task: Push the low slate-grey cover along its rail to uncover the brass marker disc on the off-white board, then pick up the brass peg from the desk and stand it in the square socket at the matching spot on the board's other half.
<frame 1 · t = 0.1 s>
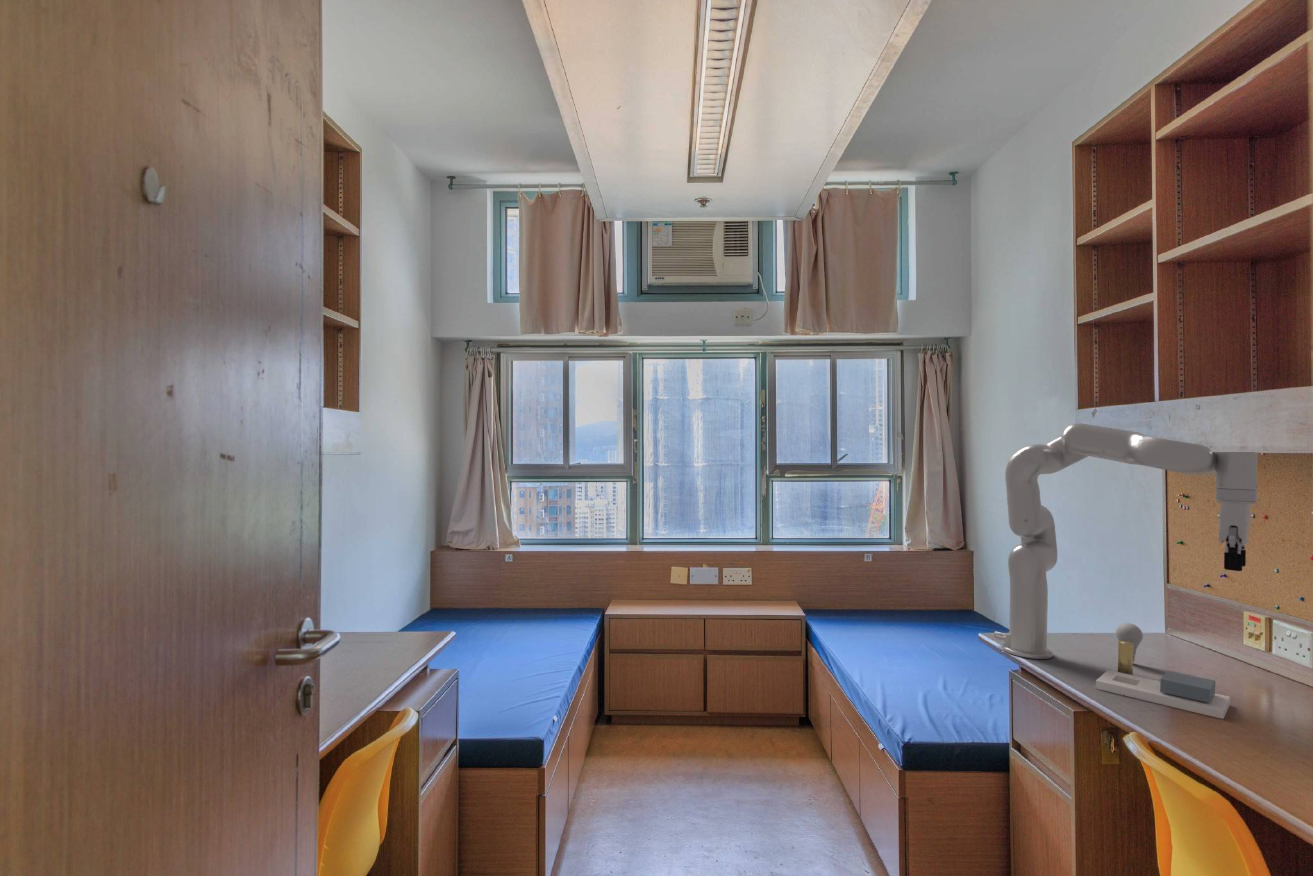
hand: (1234, 567, 161), 31 cm above the table, fingers open, 9 cm apart
housing: (1187, 686, 156), point 4 cm above the table, slide at 0.0 cm
pin: (1125, 677, 173), on the table
board: (1160, 696, 160), on the table
lightbulb: (1128, 663, 185), on the table
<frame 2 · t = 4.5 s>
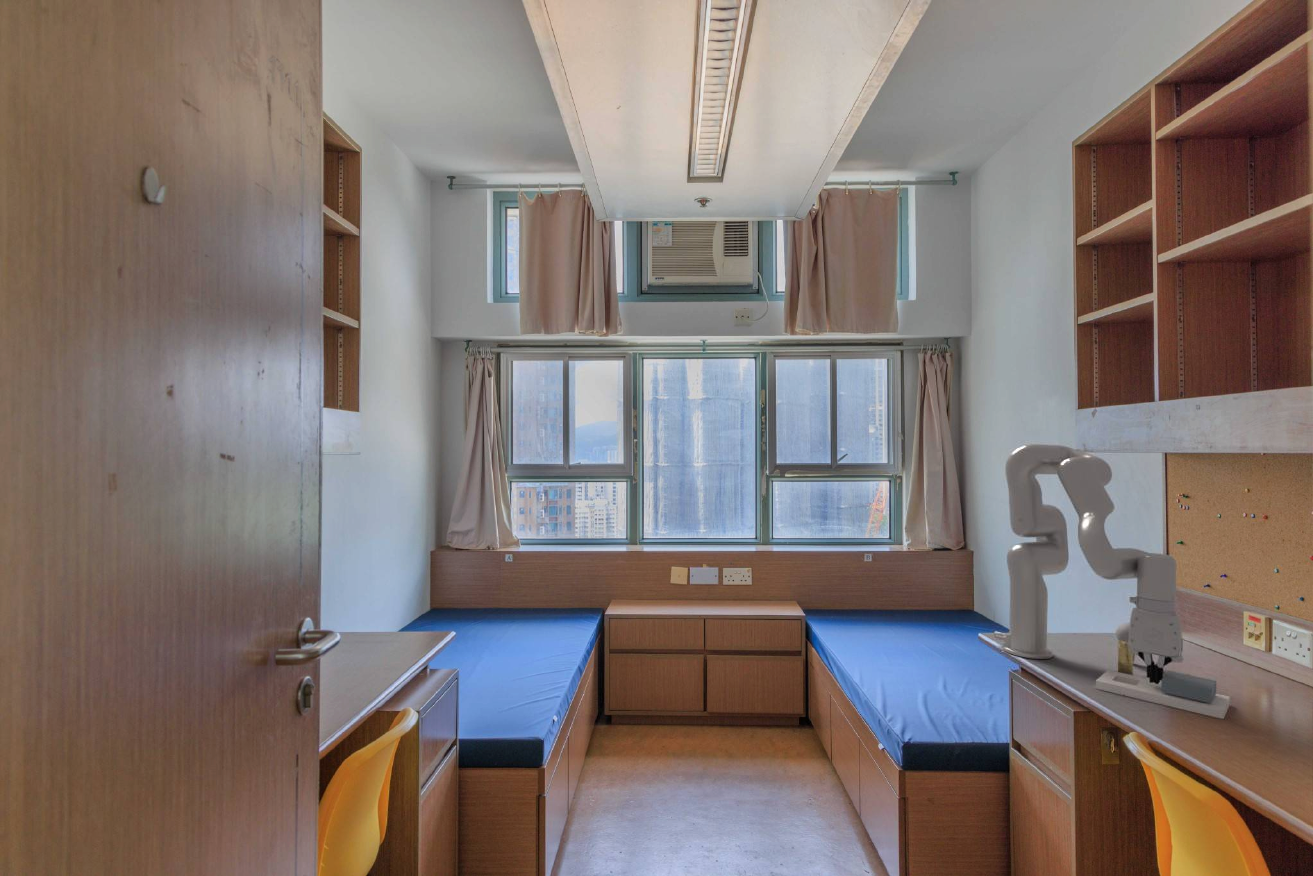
hand: (1154, 681, 161), 3 cm above the table, fingers closed
housing: (1188, 686, 156), point 4 cm above the table, slide at 0.2 cm, touching gripper
everything else where it was.
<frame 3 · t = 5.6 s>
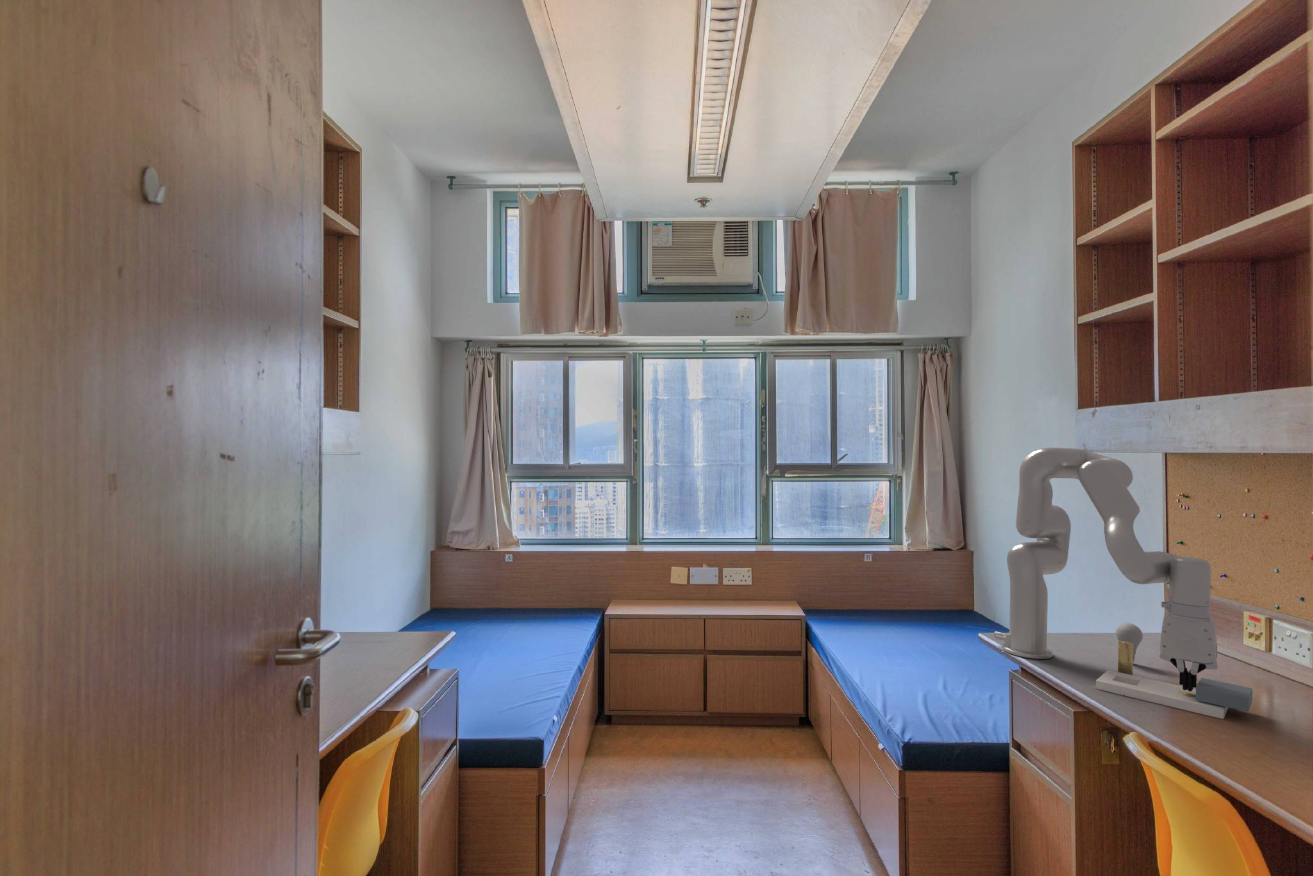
hand: (1187, 689, 156), 3 cm above the table, fingers closed
housing: (1224, 694, 152), point 4 cm above the table, slide at 6.5 cm, touching gripper
everything else where it was.
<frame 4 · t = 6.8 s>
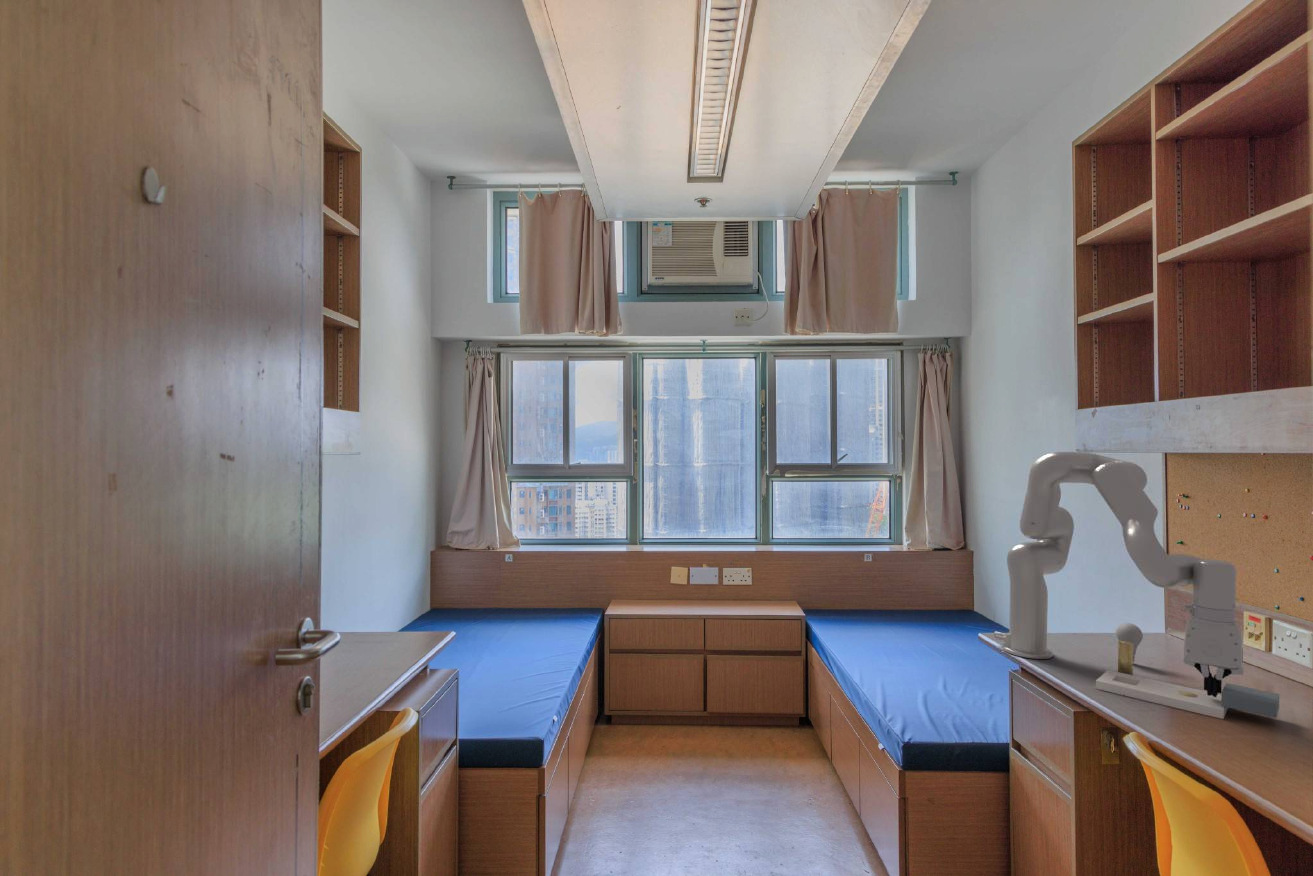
hand: (1212, 694, 153), 3 cm above the table, fingers closed
housing: (1250, 699, 149), point 4 cm above the table, slide at 11.0 cm, touching gripper
everything else where it was.
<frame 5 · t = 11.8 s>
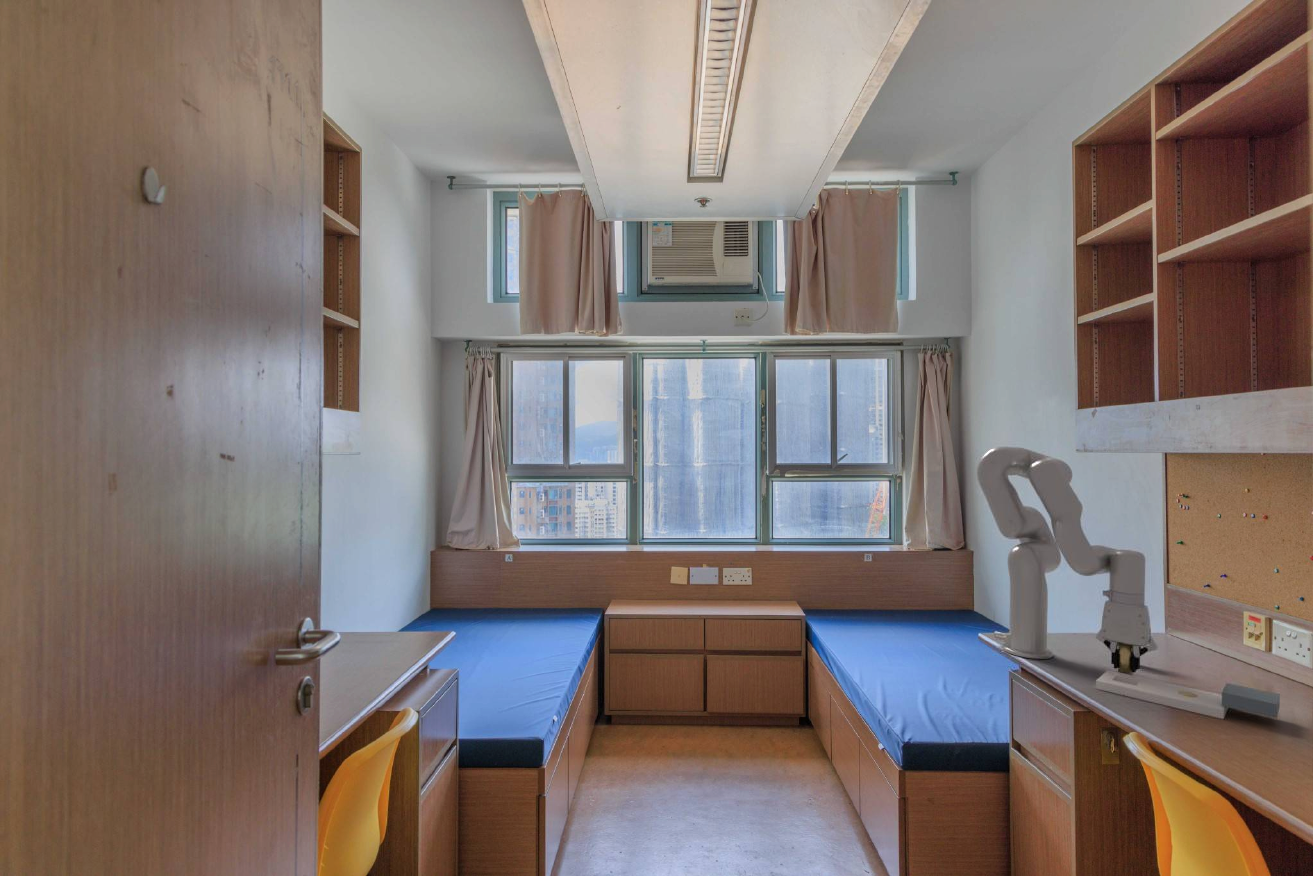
hand: (1125, 668, 173), 2 cm above the table, fingers closed on pin, 3 cm apart
housing: (1250, 699, 148), point 4 cm above the table, slide at 11.0 cm
pin: (1125, 677, 173), on the table, touching gripper
everything else where it was.
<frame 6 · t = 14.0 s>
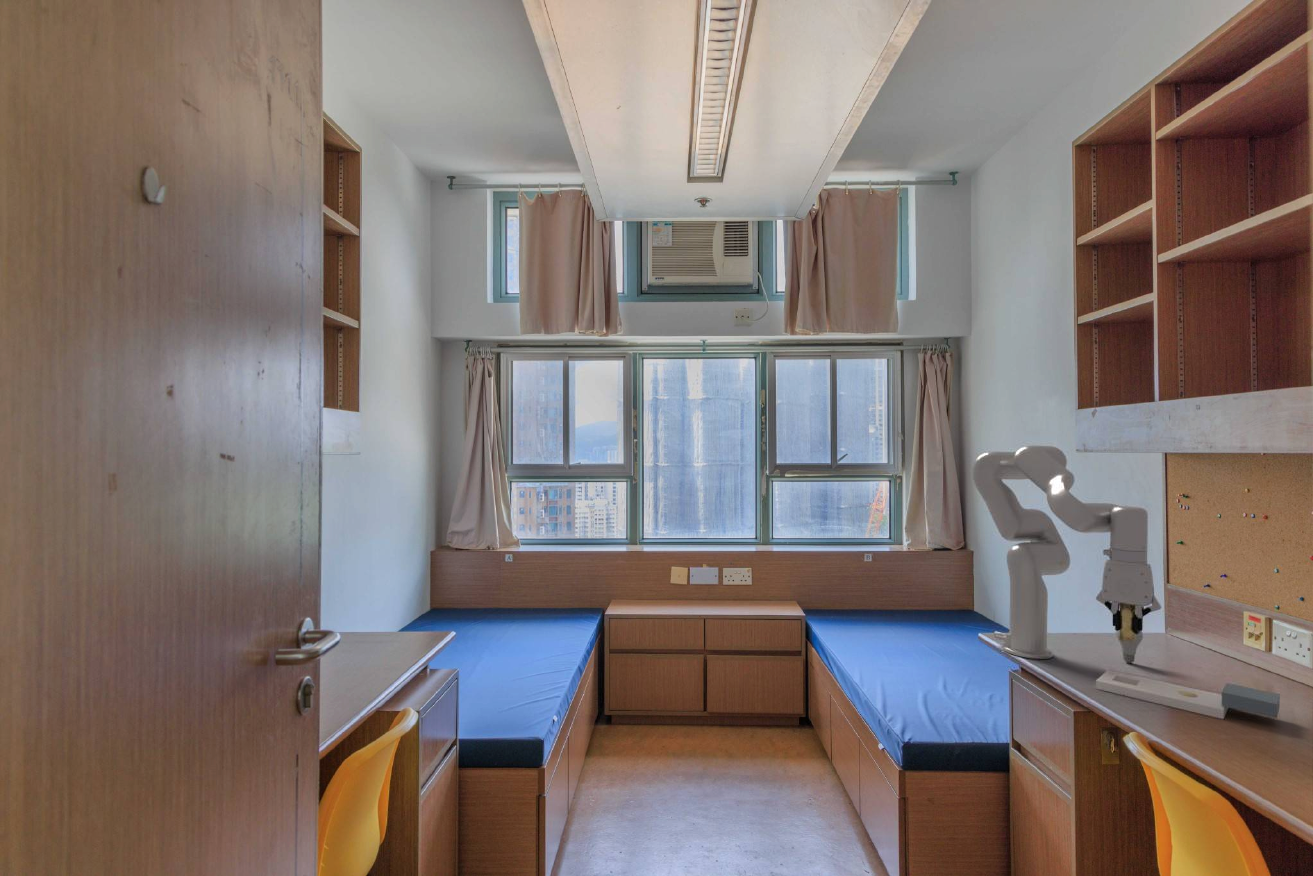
hand: (1127, 630, 165), 14 cm above the table, fingers closed on pin, 3 cm apart
pin: (1127, 639, 165), point 12 cm above the table, touching gripper
everything else where it was.
when the fingers open (2 cm above the table, at t = 16.2 s): pin stays where it is, resting in board.
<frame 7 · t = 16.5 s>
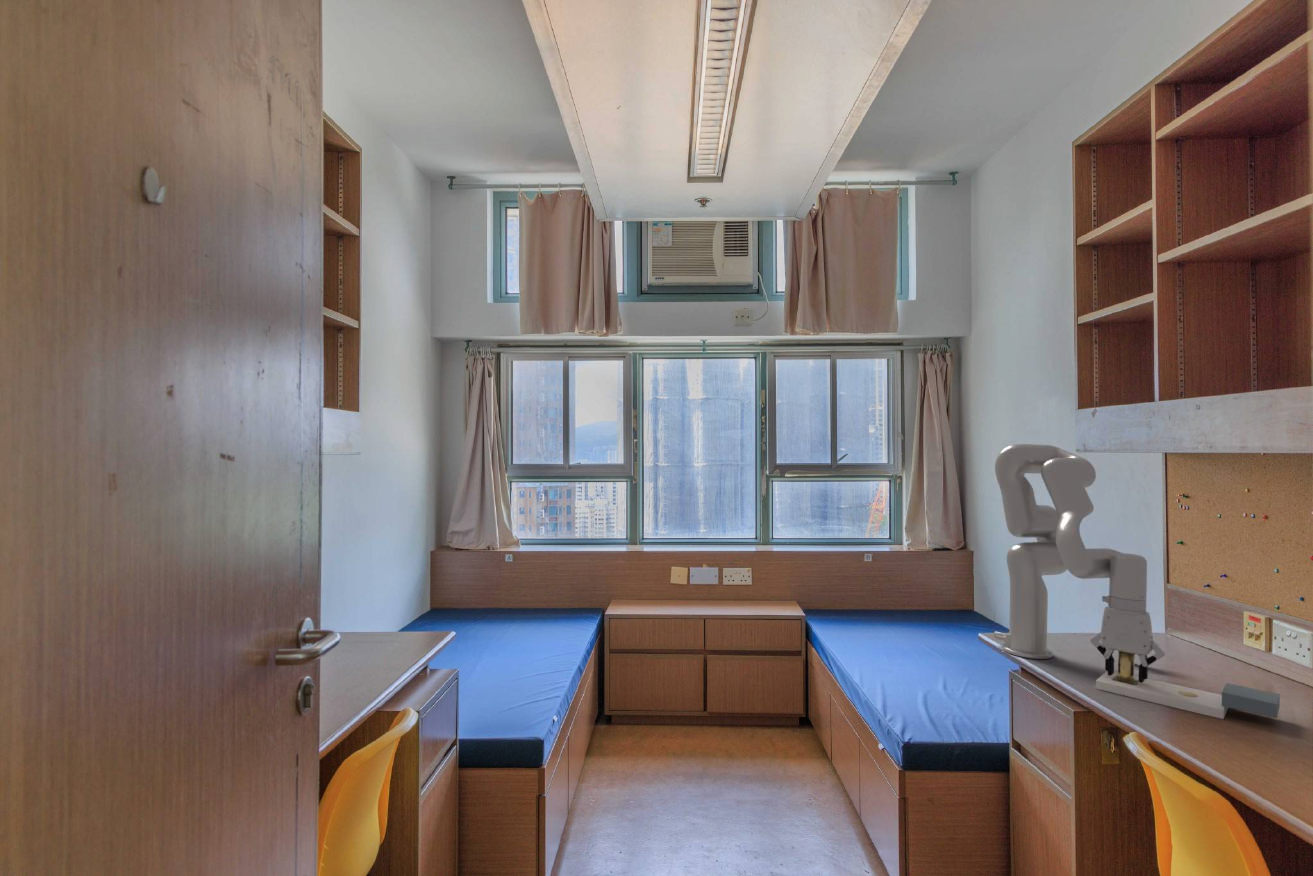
hand: (1126, 677, 165), 3 cm above the table, fingers open, 5 cm apart
pin: (1125, 688, 165), resting in board
everything else where it was.
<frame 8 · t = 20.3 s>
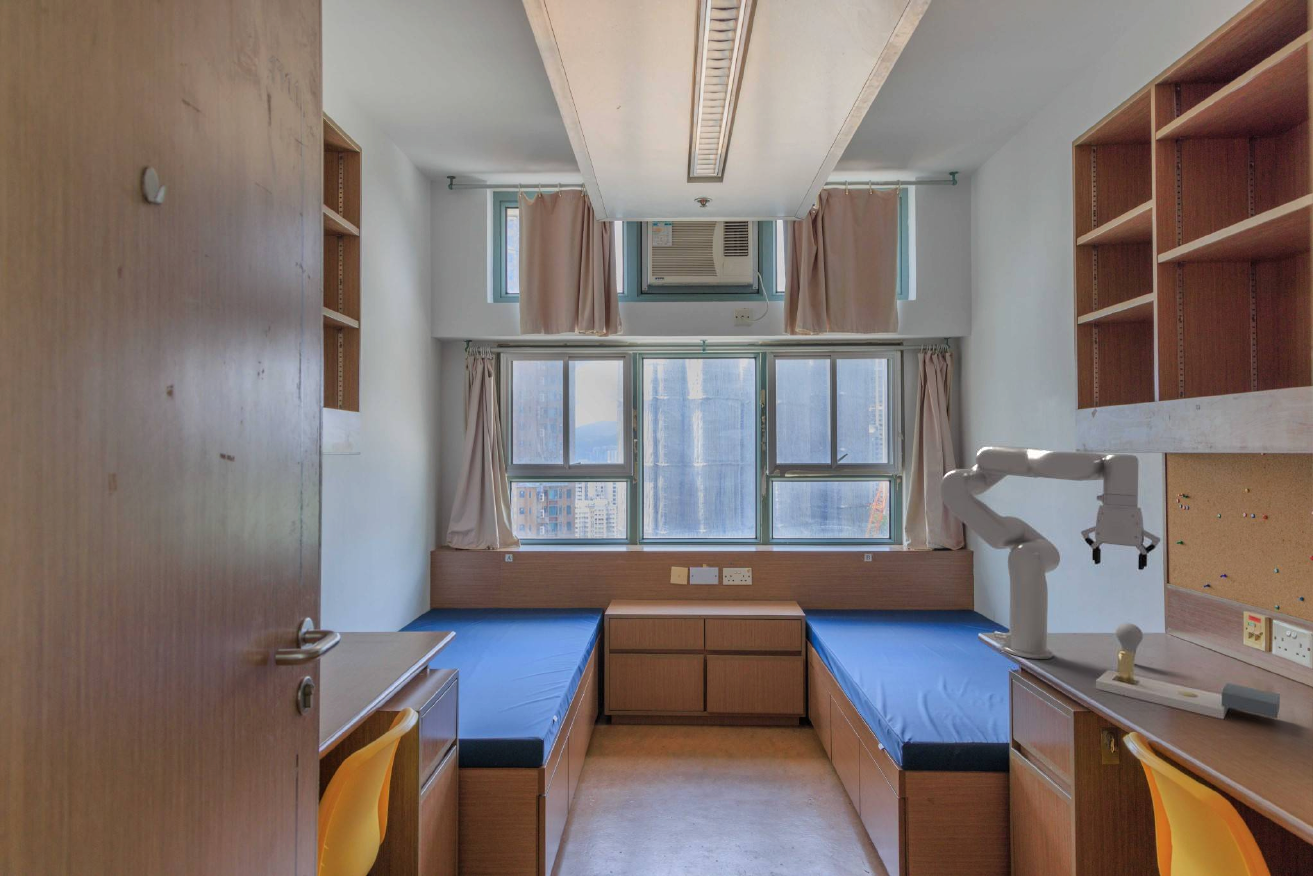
hand: (1118, 566, 176), 28 cm above the table, fingers open, 9 cm apart
nothing on the table moved.
at the end: housing slide at 11.0 cm; pin 0.0 cm from the target spot, resting in board; pin tilted 0° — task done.
